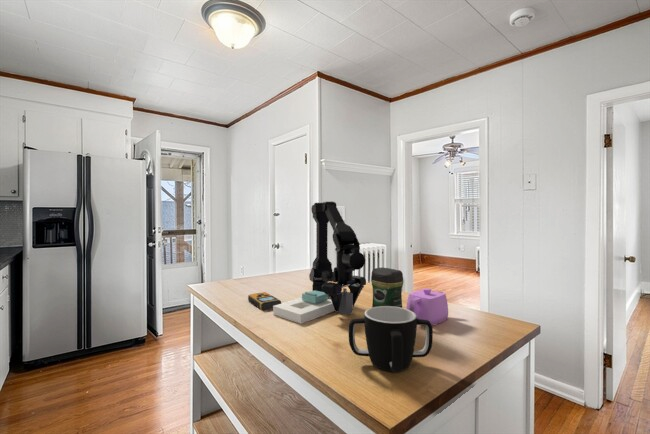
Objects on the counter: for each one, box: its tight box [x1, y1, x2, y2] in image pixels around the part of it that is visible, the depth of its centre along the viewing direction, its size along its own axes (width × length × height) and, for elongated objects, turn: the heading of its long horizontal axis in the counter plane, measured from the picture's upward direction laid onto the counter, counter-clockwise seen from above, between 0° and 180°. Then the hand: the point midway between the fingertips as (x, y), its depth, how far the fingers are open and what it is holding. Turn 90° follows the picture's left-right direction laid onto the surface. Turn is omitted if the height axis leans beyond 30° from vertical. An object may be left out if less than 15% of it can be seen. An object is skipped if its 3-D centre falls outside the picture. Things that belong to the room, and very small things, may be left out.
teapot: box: [405, 287, 449, 327], centre depth 105 cm, size 18×10×10 cm, turn 129°
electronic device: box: [247, 291, 282, 311], centre depth 123 cm, size 8×16×3 cm, turn 33°
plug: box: [336, 287, 354, 316], centre depth 112 cm, size 4×4×9 cm
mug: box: [348, 306, 434, 373], centre depth 74 cm, size 16×16×12 cm
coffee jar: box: [370, 267, 404, 308], centre depth 97 cm, size 10×8×19 cm
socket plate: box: [272, 297, 336, 325], centre depth 113 cm, size 19×14×3 cm
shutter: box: [301, 290, 329, 304], centre depth 116 cm, size 7×7×3 cm
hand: (344, 308), depth 112 cm, fingers open, 9 cm apart
